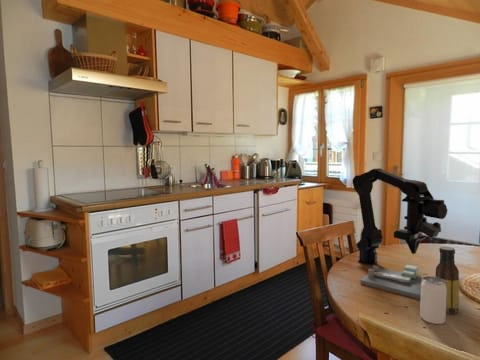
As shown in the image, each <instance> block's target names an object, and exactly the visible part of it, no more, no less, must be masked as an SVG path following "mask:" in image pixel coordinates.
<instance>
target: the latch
mask: <svg viewBox="0 0 480 360" xmlns="http://www.w3.org/2000/svg"><path fill="white" fill-rule="evenodd" d="M402 273H403V274H404V276H405V277H410V278H414V279H416V278H417V276H418V275H419V266H416V265H410V264H406V265H405V266H404V267H403V270H402Z"/></svg>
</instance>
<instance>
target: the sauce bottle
mask: <svg viewBox="0 0 480 360" xmlns="http://www.w3.org/2000/svg"><path fill="white" fill-rule="evenodd" d="M439 254H440V255H439V263H438V264H437V266H436V267H435V276H434V277H437V278H440V279H442V280H444V281H445V285H446V287H447V294H446V315H447V314H448V315H456V314H457V313H458V312H459V306H460V275H459V274H460V273H459V272H460V271H459V269H458V267H457V266H456V264H455V262H456V261H455V254H456V249H455V248H454V247H452V246H447V245H446V246H445V245H443V246H440V247H439Z"/></svg>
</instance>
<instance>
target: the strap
mask: <svg viewBox="0 0 480 360" xmlns="http://www.w3.org/2000/svg"><path fill="white" fill-rule="evenodd" d="M374 276H377V277H383V278H388V279H393V280H399V281H404V282H410V280H411V278H410V277H404V276H399V275H393V274H387V273H382V272H376V271H374Z"/></svg>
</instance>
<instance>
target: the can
mask: <svg viewBox="0 0 480 360" xmlns="http://www.w3.org/2000/svg"><path fill="white" fill-rule="evenodd" d="M422 278H423V281H422V283H421V300H420V304H419V306H420V307H419V312H420V313H419V315H420V318H421V319H422V320H423V321H424V322H426V323H428V324H432V325H442V324H445V322H446V316H447V313H446V294H447V287H446V285H445V281H444V280H442V279H440V278H437V277H435V276H424V277H422Z"/></svg>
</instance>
